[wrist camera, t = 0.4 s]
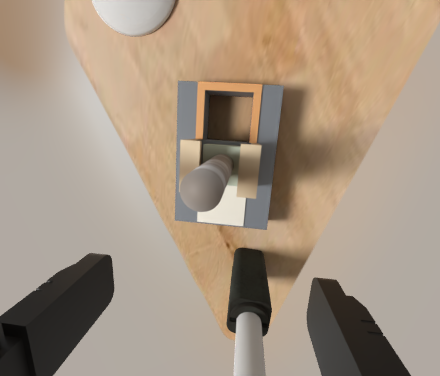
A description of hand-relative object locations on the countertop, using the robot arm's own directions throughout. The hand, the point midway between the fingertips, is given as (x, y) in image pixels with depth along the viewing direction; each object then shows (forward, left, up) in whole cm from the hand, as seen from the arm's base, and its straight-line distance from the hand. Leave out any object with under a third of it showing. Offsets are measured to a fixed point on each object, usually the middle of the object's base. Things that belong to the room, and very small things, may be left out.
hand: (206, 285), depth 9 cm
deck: (-2, -2, -29) cm, 29 cm away
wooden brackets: (-2, -2, -25) cm, 25 cm away
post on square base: (-2, -2, -25) cm, 25 cm away
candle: (+16, +3, -29) cm, 33 cm away
